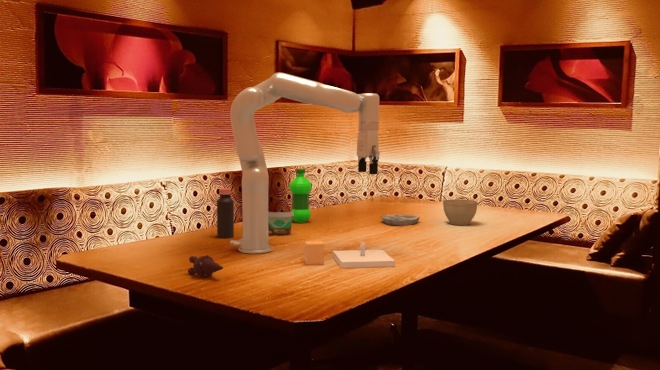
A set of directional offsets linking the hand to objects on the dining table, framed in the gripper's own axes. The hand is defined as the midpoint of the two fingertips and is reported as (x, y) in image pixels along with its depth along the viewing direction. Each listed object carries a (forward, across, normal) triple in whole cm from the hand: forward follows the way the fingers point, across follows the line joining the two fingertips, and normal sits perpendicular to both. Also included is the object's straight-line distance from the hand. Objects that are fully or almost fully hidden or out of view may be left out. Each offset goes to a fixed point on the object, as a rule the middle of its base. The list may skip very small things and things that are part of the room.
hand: (367, 173), depth 238 cm
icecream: (+29, +20, -64) cm, 74 cm away
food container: (+29, -39, -22) cm, 53 cm away
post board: (+29, +17, -9) cm, 35 cm away
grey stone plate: (+30, -50, +40) cm, 71 cm away
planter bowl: (+29, -39, +66) cm, 82 cm away
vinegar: (+29, -42, -45) cm, 68 cm away
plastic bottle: (+29, -67, -3) cm, 73 cm away
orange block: (+29, +14, -26) cm, 41 cm away
